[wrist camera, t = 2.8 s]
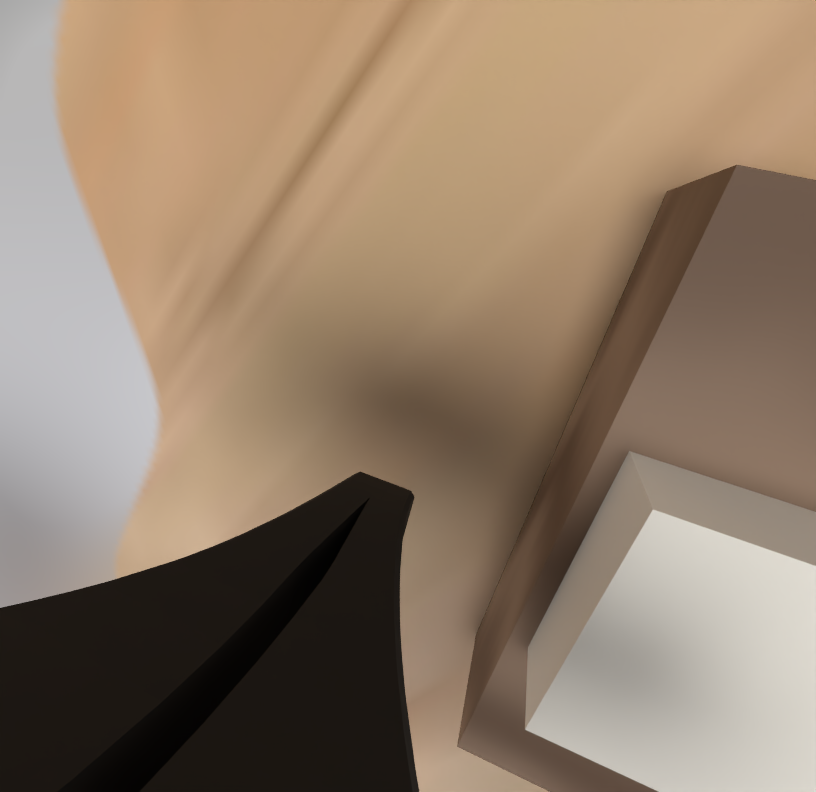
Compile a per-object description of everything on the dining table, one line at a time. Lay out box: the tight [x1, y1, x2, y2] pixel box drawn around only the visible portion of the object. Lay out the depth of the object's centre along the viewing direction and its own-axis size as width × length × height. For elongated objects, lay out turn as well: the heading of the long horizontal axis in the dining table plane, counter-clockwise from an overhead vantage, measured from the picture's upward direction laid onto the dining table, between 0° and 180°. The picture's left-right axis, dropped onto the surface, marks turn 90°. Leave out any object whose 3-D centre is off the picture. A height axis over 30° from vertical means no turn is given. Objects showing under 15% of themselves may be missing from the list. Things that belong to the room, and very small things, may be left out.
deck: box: [457, 165, 816, 792], centre depth 10 cm, size 16×12×4 cm
